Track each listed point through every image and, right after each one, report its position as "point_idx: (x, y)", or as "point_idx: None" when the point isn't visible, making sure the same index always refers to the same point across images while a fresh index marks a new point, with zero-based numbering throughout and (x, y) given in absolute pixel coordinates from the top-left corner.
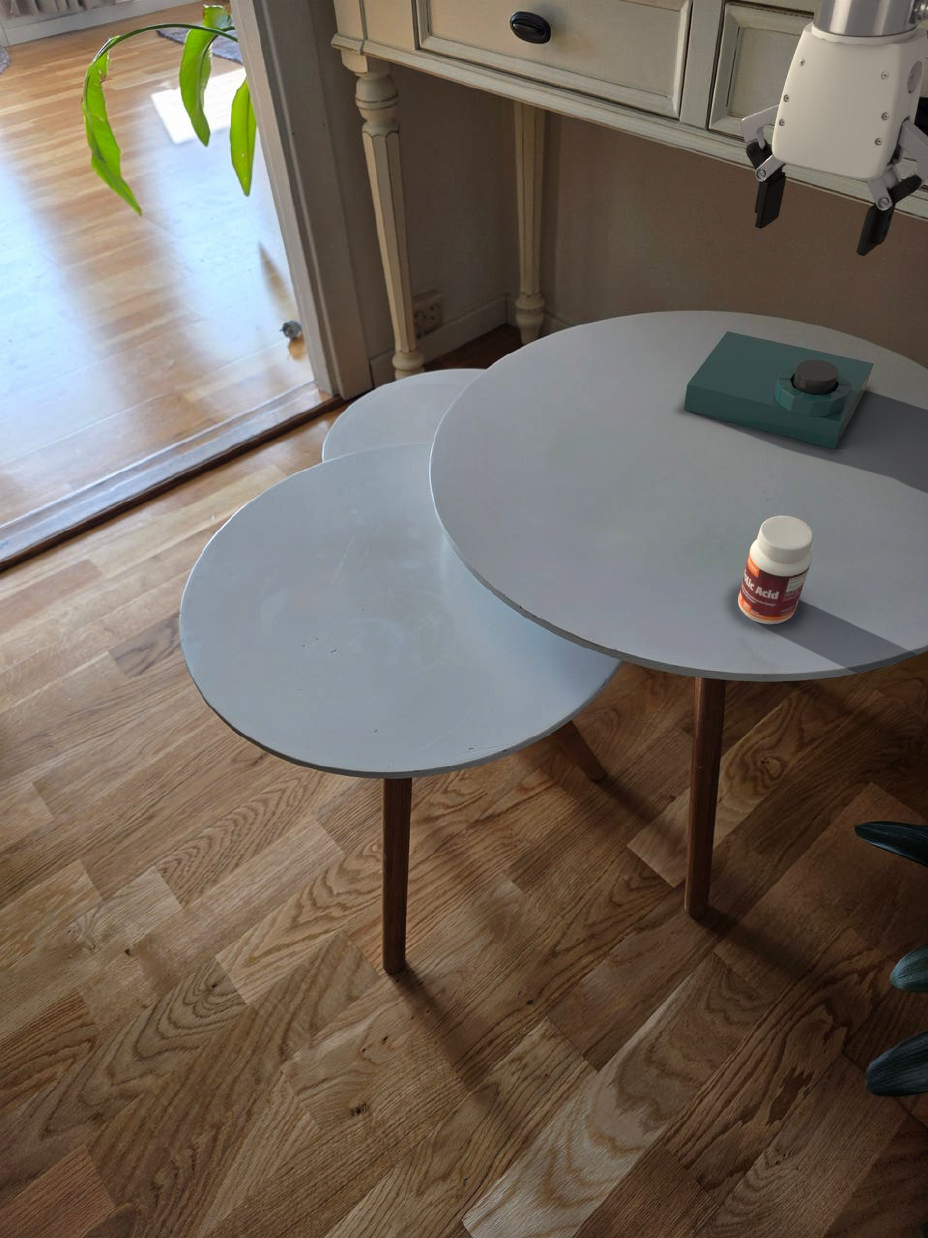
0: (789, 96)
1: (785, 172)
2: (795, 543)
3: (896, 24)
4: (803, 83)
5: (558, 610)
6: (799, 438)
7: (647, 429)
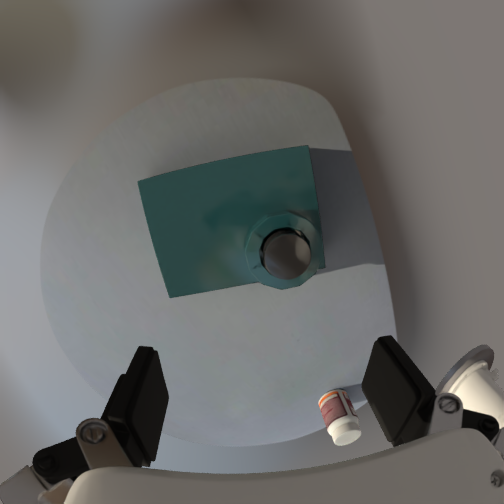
0: None
1: (122, 418)
2: (354, 439)
3: None
4: None
5: (247, 443)
6: None
7: (172, 324)
